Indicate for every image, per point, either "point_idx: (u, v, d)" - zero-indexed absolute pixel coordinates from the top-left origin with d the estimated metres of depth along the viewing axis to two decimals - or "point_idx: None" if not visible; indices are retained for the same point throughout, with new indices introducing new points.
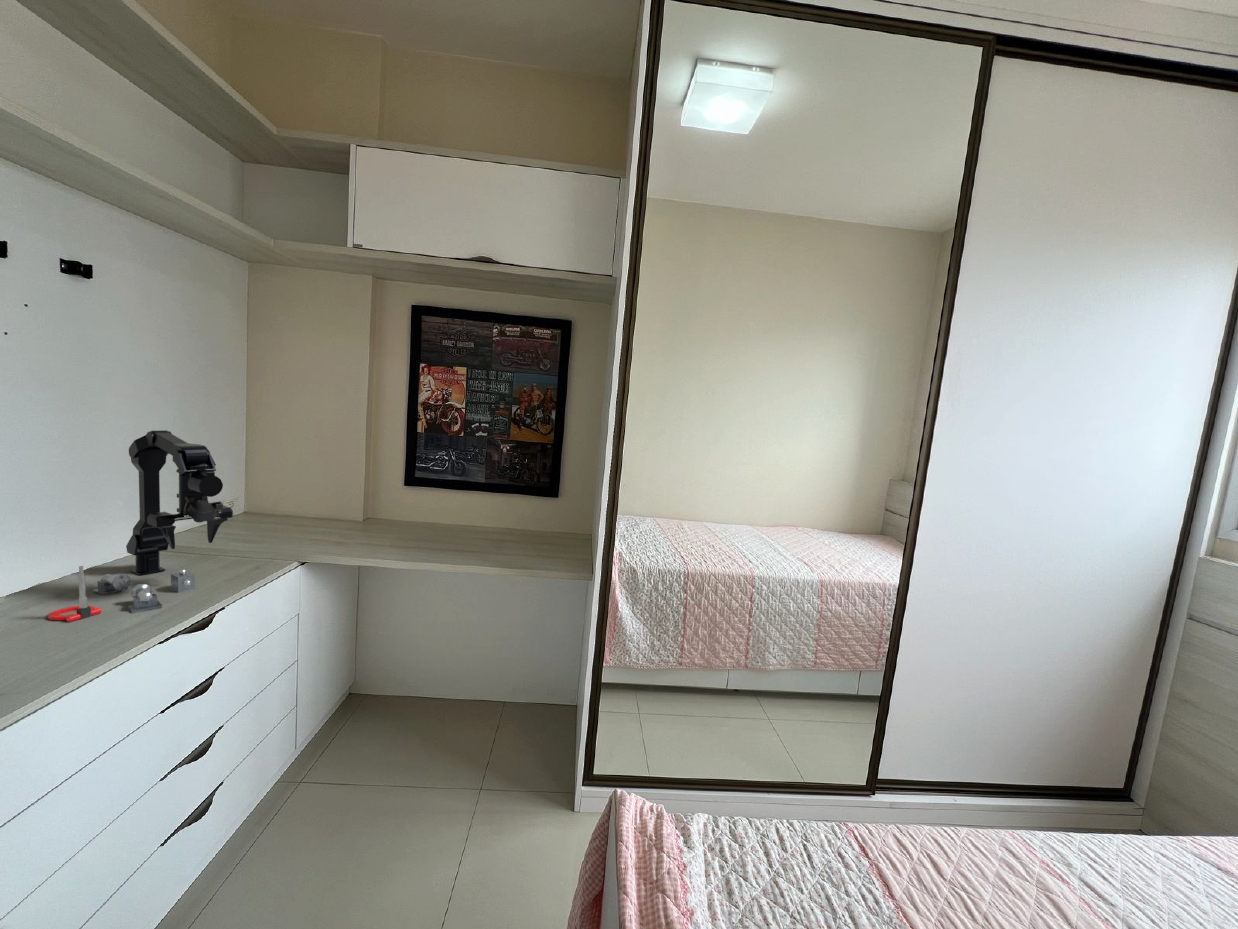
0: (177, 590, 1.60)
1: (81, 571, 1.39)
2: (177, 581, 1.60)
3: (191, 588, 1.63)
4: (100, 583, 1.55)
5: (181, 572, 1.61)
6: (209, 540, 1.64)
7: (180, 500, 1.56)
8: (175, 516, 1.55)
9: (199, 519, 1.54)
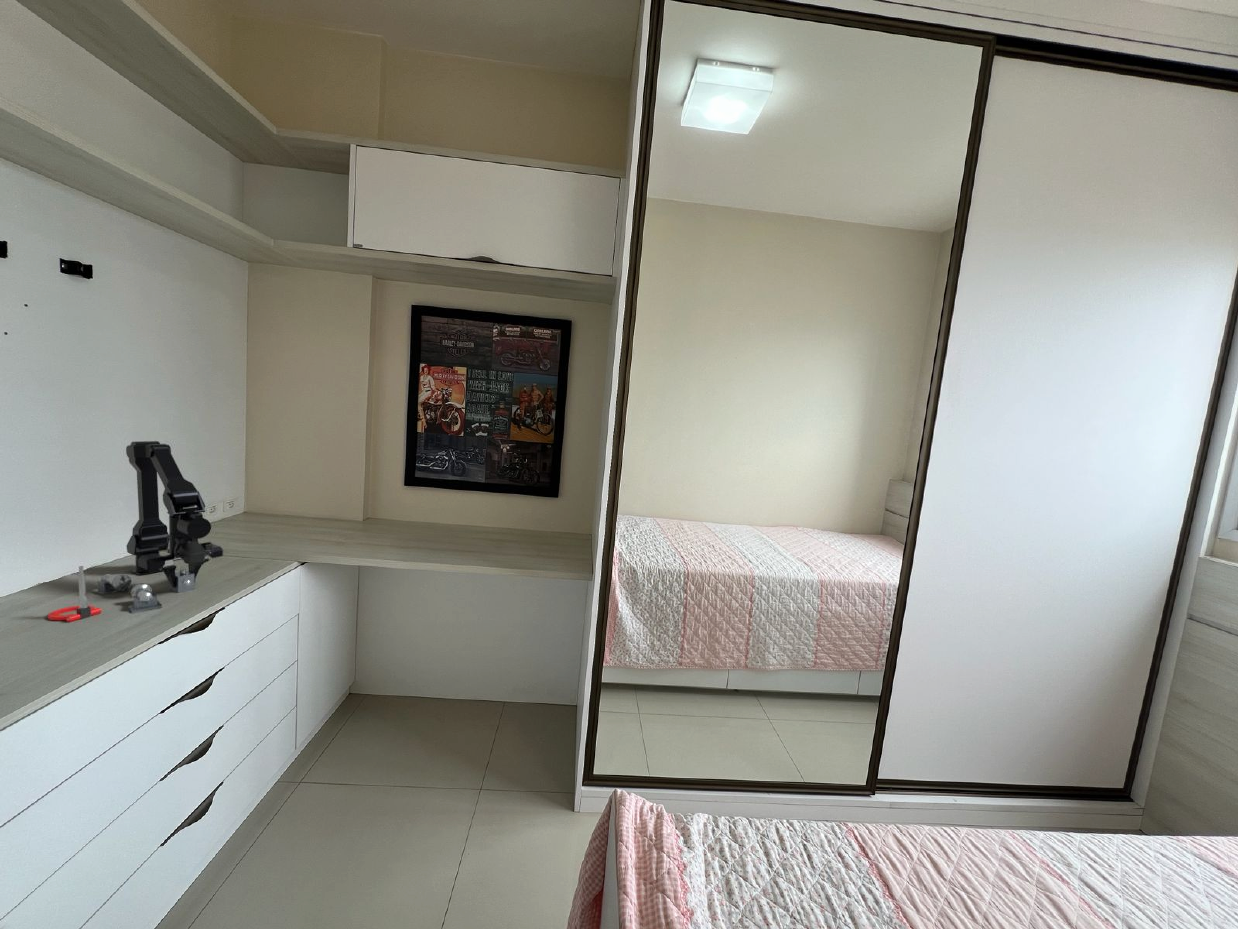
0: (177, 590, 1.60)
1: (81, 571, 1.39)
2: (177, 580, 1.60)
3: (191, 588, 1.63)
4: (100, 583, 1.55)
5: (181, 572, 1.61)
6: None
7: (170, 542, 1.58)
8: (166, 557, 1.58)
9: (189, 560, 1.56)
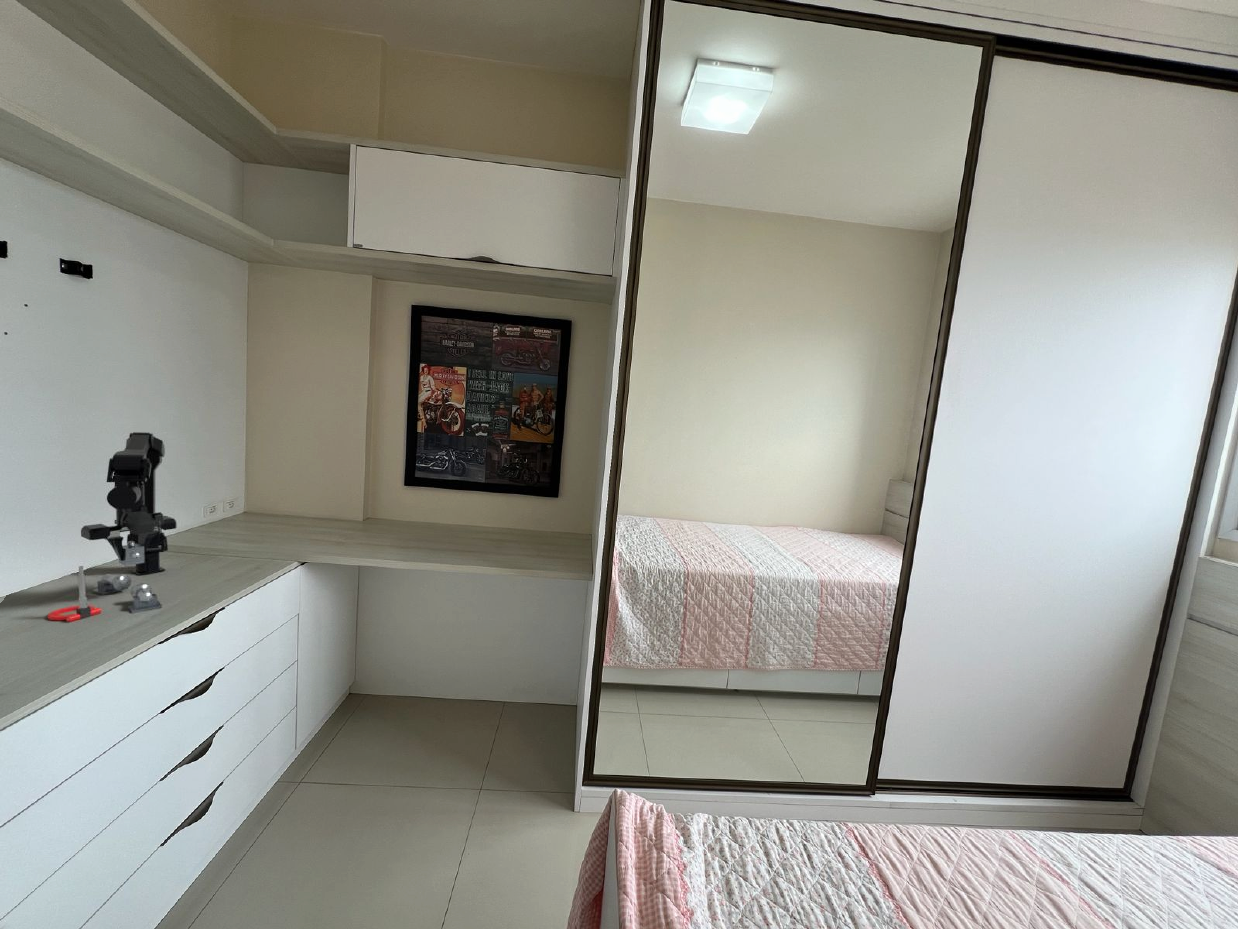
0: (125, 563, 1.50)
1: (81, 571, 1.39)
2: (124, 553, 1.50)
3: (141, 561, 1.53)
4: (100, 583, 1.55)
5: (129, 544, 1.52)
6: None
7: (117, 511, 1.49)
8: (112, 528, 1.48)
9: (136, 531, 1.47)
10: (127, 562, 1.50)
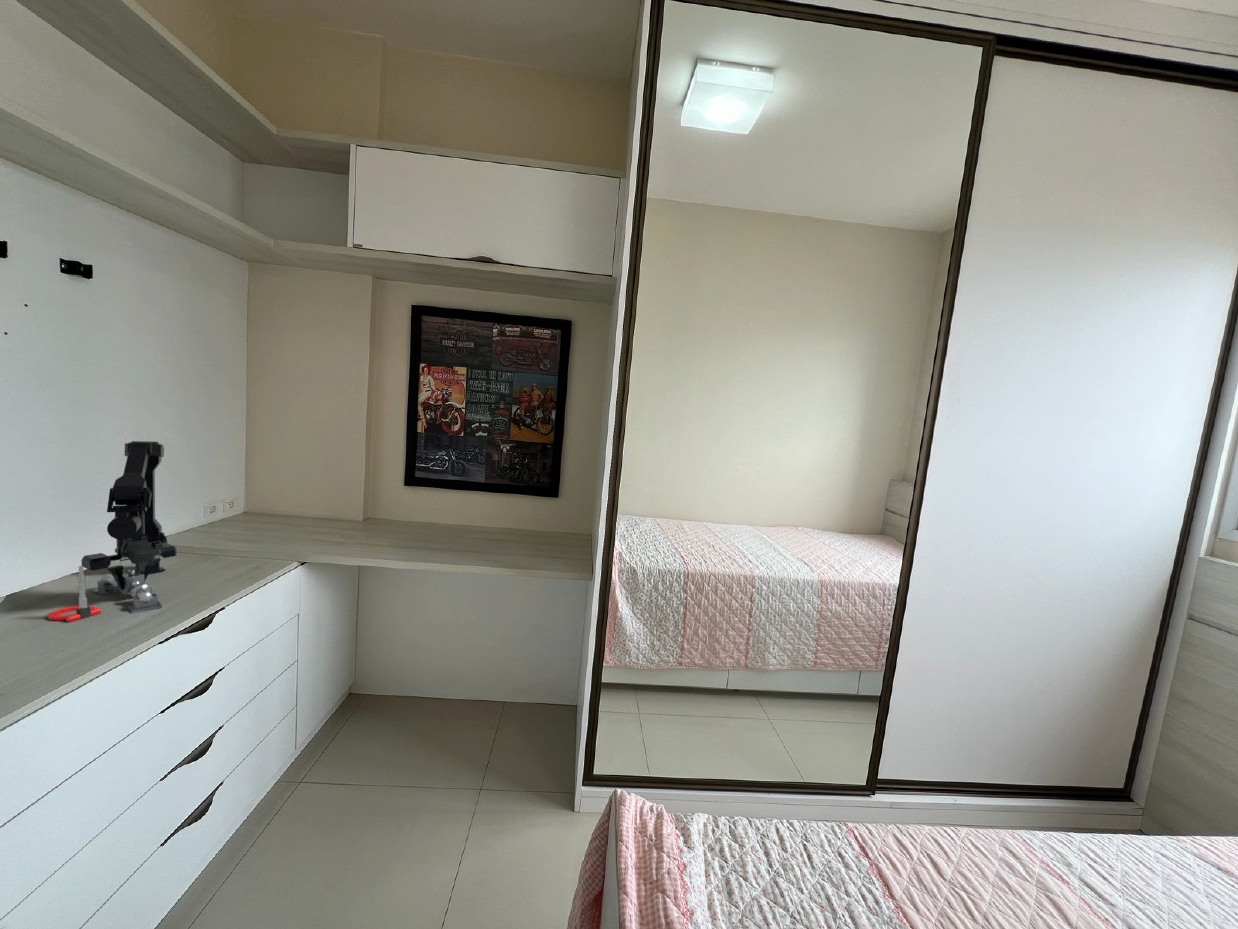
0: (125, 591, 1.51)
1: (81, 571, 1.39)
2: (125, 582, 1.51)
3: None
4: (100, 583, 1.55)
5: (130, 572, 1.53)
6: None
7: (117, 540, 1.50)
8: (112, 557, 1.49)
9: (136, 561, 1.47)
10: (127, 591, 1.51)
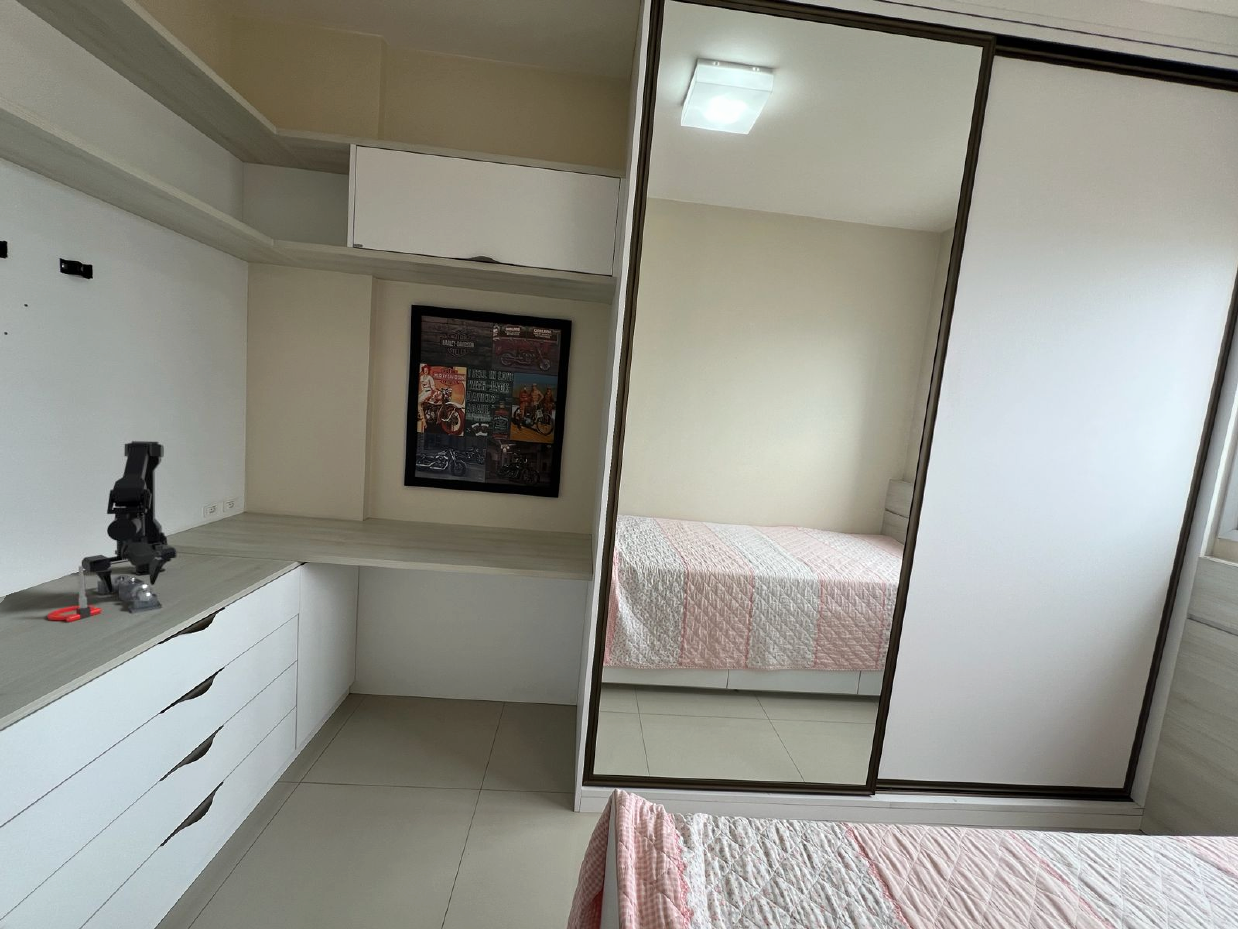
0: (125, 599, 1.51)
1: (81, 571, 1.39)
2: (125, 589, 1.51)
3: None
4: (100, 583, 1.55)
5: (130, 580, 1.53)
6: (151, 582, 1.57)
7: (117, 542, 1.50)
8: (112, 559, 1.49)
9: (136, 562, 1.47)
10: (127, 598, 1.51)
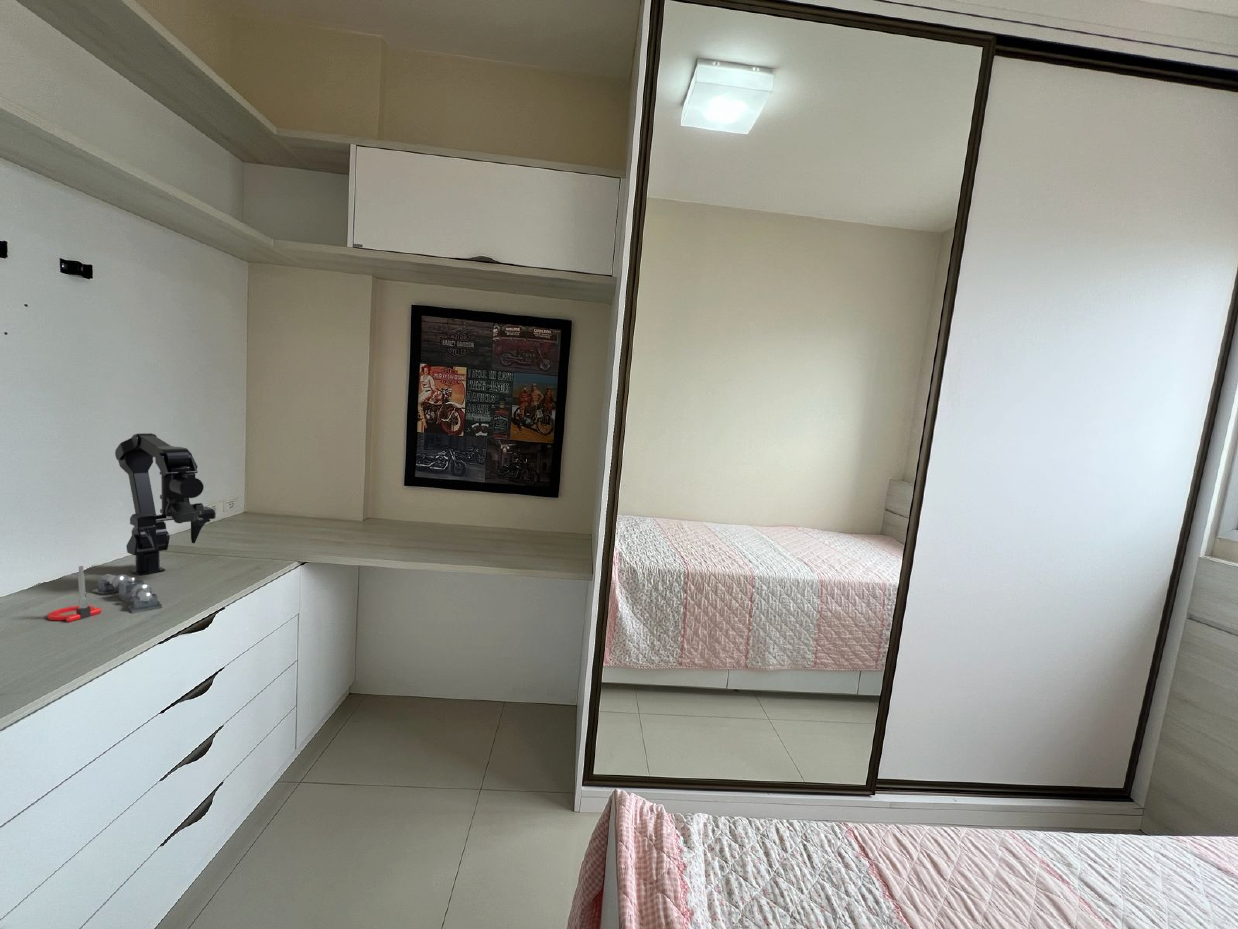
0: (125, 599, 1.51)
1: (81, 571, 1.39)
2: (125, 589, 1.51)
3: None
4: (100, 583, 1.55)
5: (130, 580, 1.53)
6: (192, 540, 1.68)
7: (162, 501, 1.60)
8: (157, 517, 1.60)
9: (179, 520, 1.58)
10: (127, 598, 1.51)
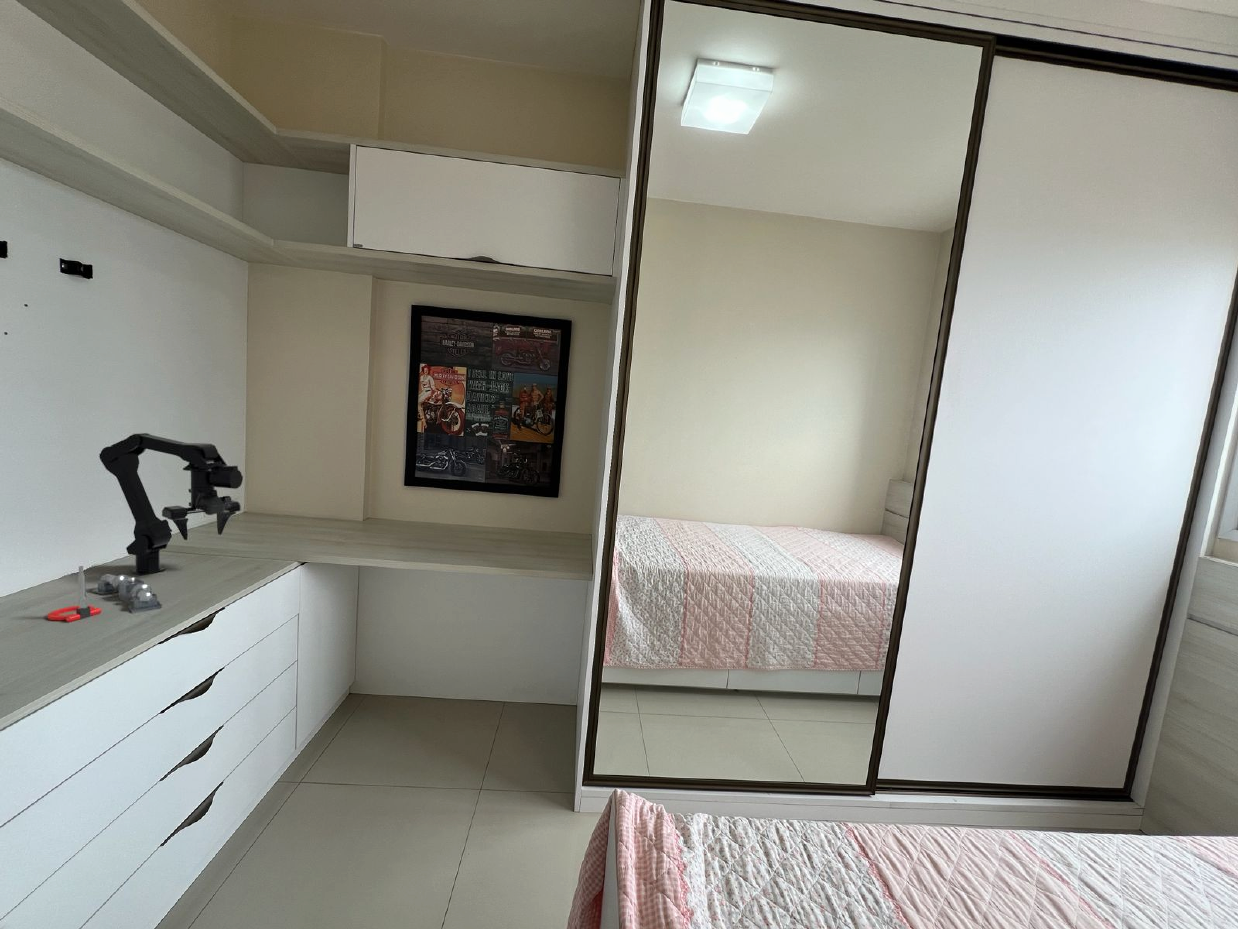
0: (125, 599, 1.51)
1: (81, 571, 1.39)
2: (125, 589, 1.51)
3: None
4: (100, 583, 1.55)
5: (130, 580, 1.53)
6: (219, 532, 1.77)
7: (192, 495, 1.69)
8: (187, 509, 1.68)
9: (210, 512, 1.67)
10: (127, 598, 1.51)
